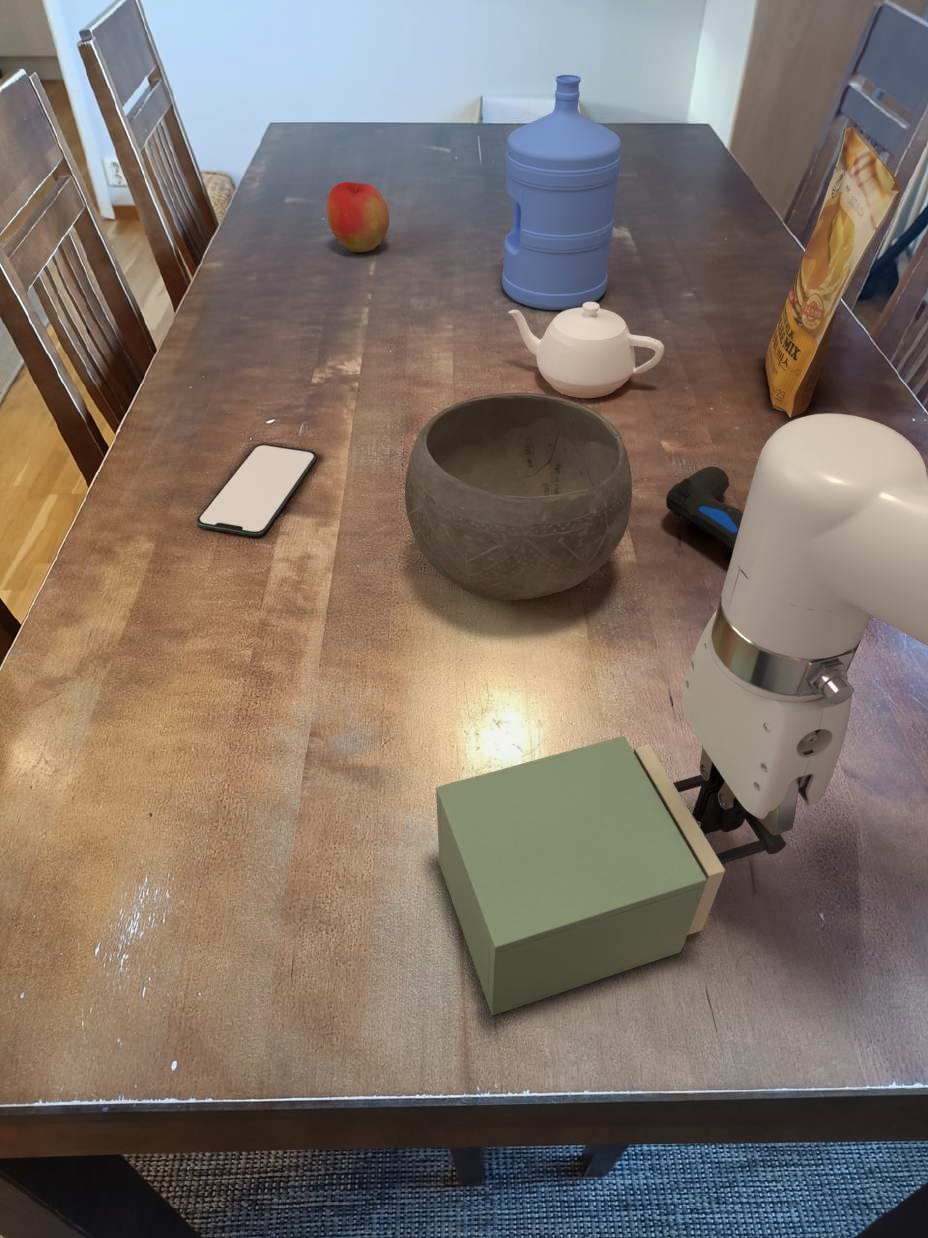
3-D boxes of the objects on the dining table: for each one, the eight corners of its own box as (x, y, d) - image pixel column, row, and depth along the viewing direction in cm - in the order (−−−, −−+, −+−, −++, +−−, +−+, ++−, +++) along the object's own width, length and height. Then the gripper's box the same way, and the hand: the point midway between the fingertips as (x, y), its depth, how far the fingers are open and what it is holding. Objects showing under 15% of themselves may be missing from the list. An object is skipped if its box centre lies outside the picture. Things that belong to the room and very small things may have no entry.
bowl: (550, 484, 99) (560, 359, 89) (662, 598, 86) (689, 467, 75) (376, 539, 92) (364, 411, 82) (469, 671, 79) (469, 539, 69)
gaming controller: (688, 508, 100) (639, 498, 93) (715, 462, 98) (667, 448, 90) (810, 589, 90) (766, 585, 83) (843, 540, 88) (800, 532, 81)
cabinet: (609, 813, 69) (624, 735, 62) (681, 952, 61) (707, 879, 54) (439, 863, 66) (435, 786, 59) (491, 1016, 58) (494, 947, 51)
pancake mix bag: (810, 351, 121) (876, 122, 101) (828, 428, 107) (908, 180, 88) (759, 348, 121) (815, 119, 102) (770, 423, 108) (837, 176, 88)
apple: (334, 263, 142) (327, 197, 135) (328, 240, 149) (321, 176, 142) (394, 258, 143) (390, 192, 136) (386, 235, 150) (382, 172, 143)
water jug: (622, 281, 137) (648, 71, 117) (577, 322, 127) (597, 101, 108) (532, 260, 143) (542, 57, 123) (482, 297, 133) (485, 83, 113)
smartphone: (257, 446, 105) (193, 527, 94) (257, 442, 105) (192, 523, 93) (320, 455, 103) (262, 539, 92) (320, 451, 103) (261, 535, 92)
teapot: (491, 389, 114) (492, 313, 107) (520, 345, 122) (523, 272, 115) (646, 417, 109) (659, 339, 102) (666, 370, 117) (679, 294, 110)
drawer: (708, 785, 69) (728, 721, 64) (782, 904, 62) (812, 842, 57) (479, 853, 65) (480, 790, 60) (531, 987, 58) (537, 930, 53)
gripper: (930, 717, 45) (827, 898, 58) (768, 538, 55) (711, 726, 68) (802, 755, 43) (725, 933, 56) (659, 563, 54) (621, 751, 66)
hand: (717, 819), depth 62 cm, fingers closed
